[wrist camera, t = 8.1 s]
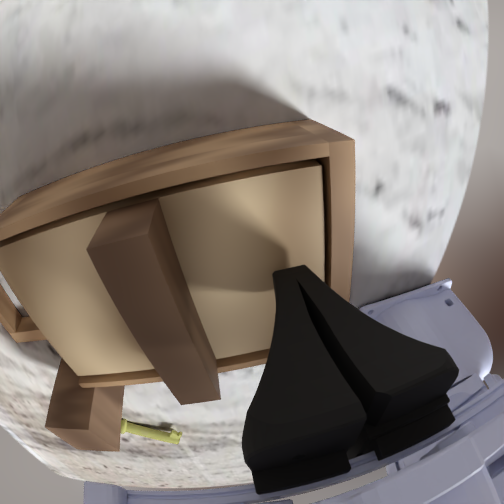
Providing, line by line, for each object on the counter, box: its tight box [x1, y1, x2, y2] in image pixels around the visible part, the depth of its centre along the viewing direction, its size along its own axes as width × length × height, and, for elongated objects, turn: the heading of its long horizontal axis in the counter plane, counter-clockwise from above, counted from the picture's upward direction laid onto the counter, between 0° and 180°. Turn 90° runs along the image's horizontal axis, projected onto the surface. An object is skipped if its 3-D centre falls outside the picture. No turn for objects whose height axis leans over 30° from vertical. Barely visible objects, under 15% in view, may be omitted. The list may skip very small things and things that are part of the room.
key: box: [120, 419, 182, 444], centre depth 25 cm, size 7×12×2 cm, turn 83°
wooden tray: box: [0, 119, 355, 388], centre depth 14 cm, size 22×11×5 cm, turn 98°
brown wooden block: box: [45, 358, 125, 451], centre depth 18 cm, size 4×4×7 cm
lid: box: [0, 159, 325, 405], centre depth 12 cm, size 15×9×3 cm, turn 98°
